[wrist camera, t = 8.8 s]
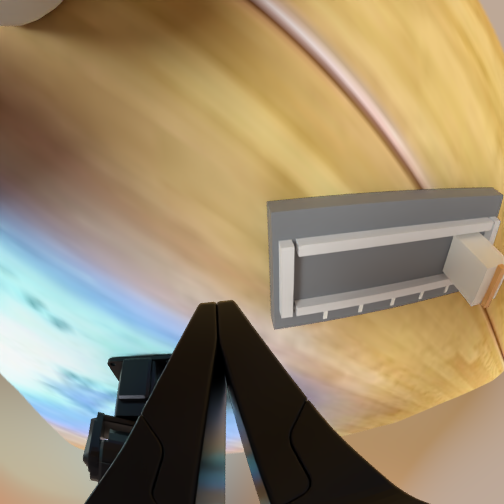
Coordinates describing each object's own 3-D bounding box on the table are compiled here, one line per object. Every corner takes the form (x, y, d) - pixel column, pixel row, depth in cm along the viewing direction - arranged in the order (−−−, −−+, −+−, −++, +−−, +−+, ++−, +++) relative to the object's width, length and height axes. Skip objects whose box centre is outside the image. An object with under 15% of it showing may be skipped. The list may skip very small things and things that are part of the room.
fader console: (463, 278, 27) (476, 292, 25) (271, 315, 25) (276, 337, 23) (492, 187, 21) (509, 199, 19) (266, 201, 20) (273, 219, 18)
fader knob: (465, 266, 23) (497, 303, 19) (442, 271, 23) (473, 311, 19) (478, 229, 21) (515, 265, 17) (454, 233, 21) (492, 271, 17)
